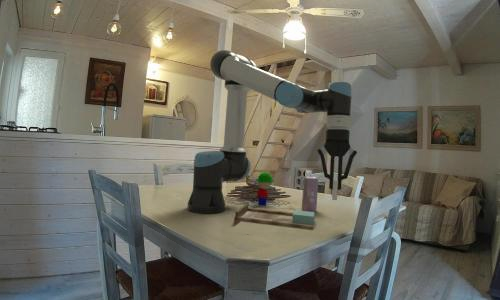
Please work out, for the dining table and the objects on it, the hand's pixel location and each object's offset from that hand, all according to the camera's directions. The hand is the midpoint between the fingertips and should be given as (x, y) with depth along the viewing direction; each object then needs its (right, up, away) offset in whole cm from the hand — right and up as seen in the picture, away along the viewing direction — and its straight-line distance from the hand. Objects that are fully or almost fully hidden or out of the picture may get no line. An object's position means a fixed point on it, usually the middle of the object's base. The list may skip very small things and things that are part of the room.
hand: (334, 199), depth 99 cm
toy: (-22, -9, +33) cm, 40 cm away
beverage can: (-4, -10, +23) cm, 25 cm away
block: (-10, -8, +3) cm, 13 cm away
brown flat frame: (-19, -9, +5) cm, 22 cm away
